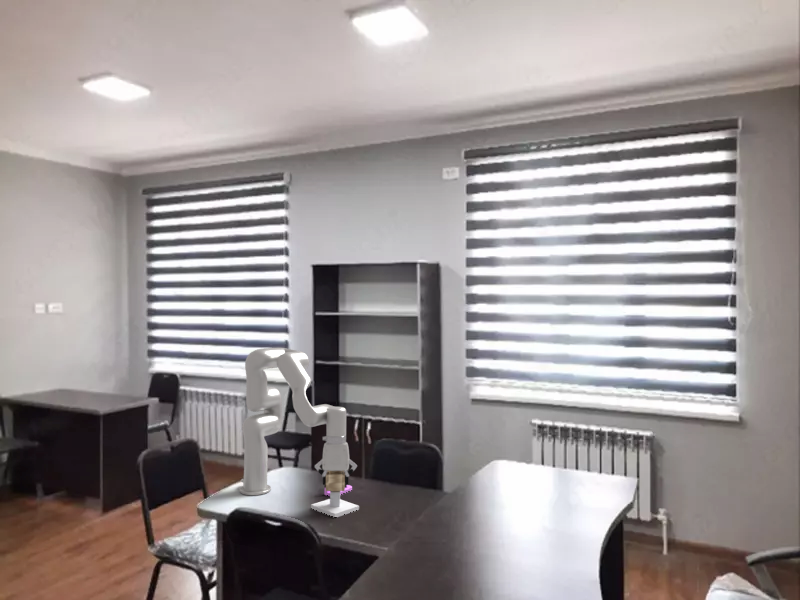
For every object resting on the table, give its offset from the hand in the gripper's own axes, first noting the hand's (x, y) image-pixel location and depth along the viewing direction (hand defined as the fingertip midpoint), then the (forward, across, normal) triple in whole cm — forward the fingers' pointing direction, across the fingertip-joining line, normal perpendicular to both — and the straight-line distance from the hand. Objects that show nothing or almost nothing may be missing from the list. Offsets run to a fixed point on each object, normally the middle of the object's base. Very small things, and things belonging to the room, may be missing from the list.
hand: (335, 486), depth 216 cm
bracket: (+9, 0, +21) cm, 23 cm away
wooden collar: (+1, 0, 0) cm, 1 cm away
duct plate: (+9, 0, 0) cm, 9 cm away
